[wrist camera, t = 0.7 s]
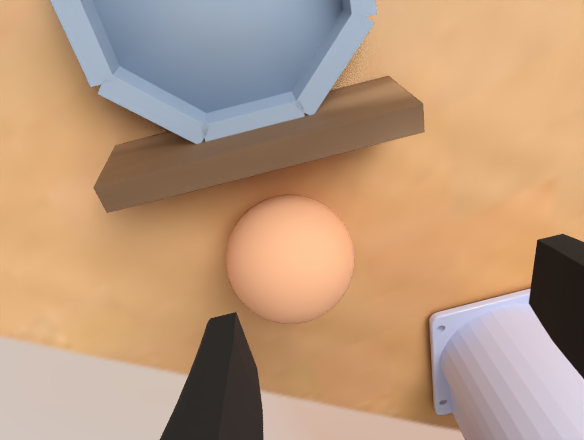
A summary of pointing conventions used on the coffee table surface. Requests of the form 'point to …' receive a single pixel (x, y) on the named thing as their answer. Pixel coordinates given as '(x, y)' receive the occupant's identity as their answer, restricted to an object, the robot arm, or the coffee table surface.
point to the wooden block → (259, 145)
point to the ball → (290, 259)
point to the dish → (215, 57)
